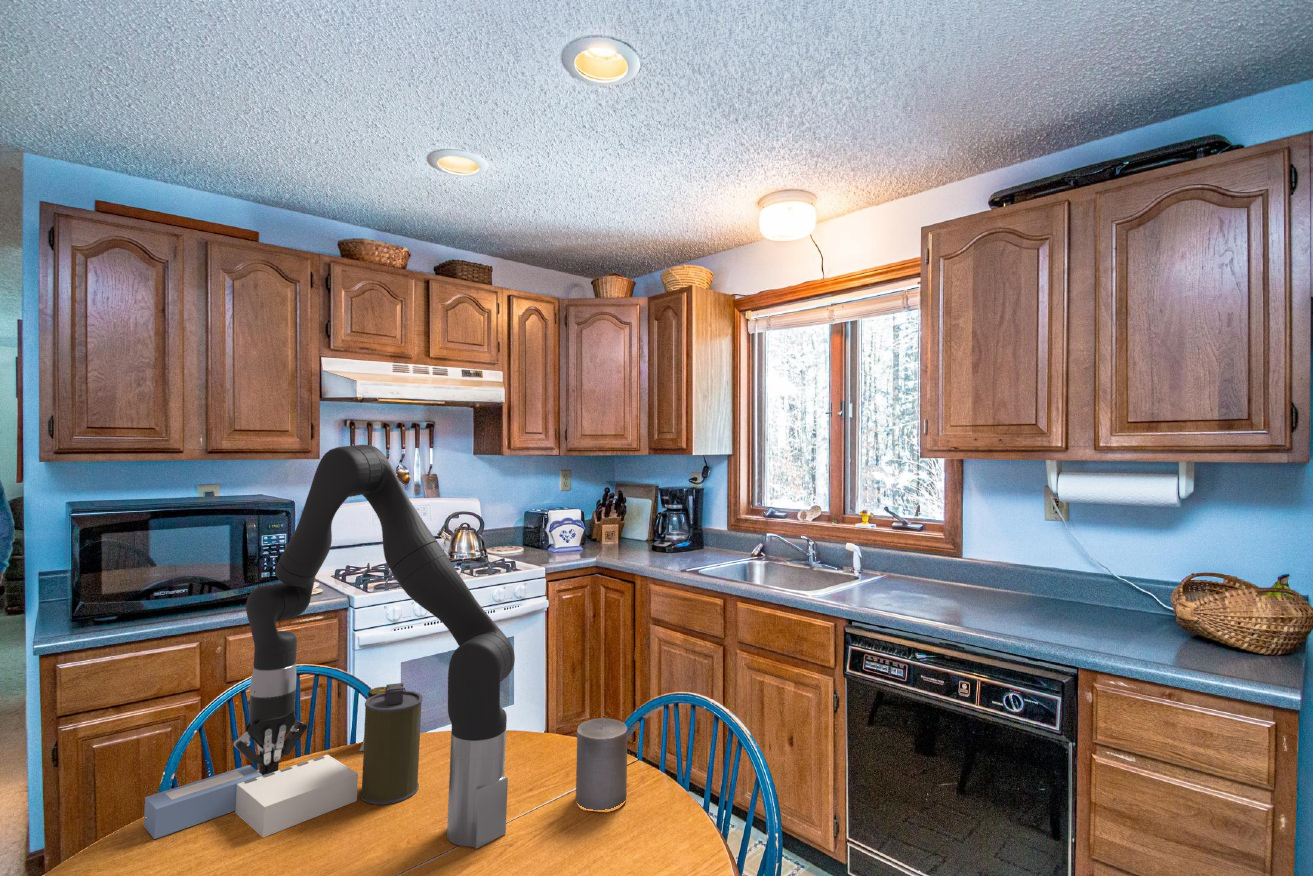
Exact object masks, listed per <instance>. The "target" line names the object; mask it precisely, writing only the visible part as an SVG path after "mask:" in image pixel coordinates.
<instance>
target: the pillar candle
mask: <svg viewBox="0 0 1313 876" xmlns="http://www.w3.org/2000/svg"><path fill="white" fill-rule="evenodd" d="M576 731H577V733H576V770H575V771H576V775H575V777H576V779H575V802H576V801H577V803H578V804H579V805H580V806H582V807H584V808H586V809H593V810H605V809H611V808H614V807H616V806H618V805H620V804H621V803H623V802H624V801H625V800H626V801H627V799H626V797H627V794H628V791H627V788H628V782H627V781H628V776H627V775H628V726H627V725H626V724H625V723H624V722H623V721H621V720H619V719H613V718H605V717H604V718H600V717H599V718H592V719H588V720H585V721H583V722H581V723H580V724H579V725H578V726H577V730H576Z"/></svg>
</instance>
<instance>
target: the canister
mask: <svg viewBox="0 0 1313 876" xmlns="http://www.w3.org/2000/svg"><path fill="white" fill-rule="evenodd" d="M385 687H386V692H384V693H380V694H377V695H374V696H372V697H370V698H369V699H368V698H367V699H366V700H365V701H364V707H366V714H365V713H364V714H365V715H364V728H365V734H364V733H363V734H364V735H363V739H364V751H363V756H362V757H363V759H362V776H361V777H362V779H361V781H362V782H361V791H360V793H359V794H360V799H361V800H362V801H363V802H364V803H365V802H366V803H367V804H371V805H377V806H379V805H380V806H381V805H393V804H396V803H400V802H403V801H405V800H407V799H409V798H410V797H413V796H414V795H415V794H416V793H417V792H418V790H419V789H420V788H419V767H420V765H419V764H420V763H419V761H420V741H421V739H420V738H421V722H422V721H421V720H422V719H421V718H422V702H423V698H424V697H423V695H422V694H421V693H419V692H416V691H412V690H406V688H405V687H404V683H403V682H399V683H398V682H397V683H390V684H386V686H385Z"/></svg>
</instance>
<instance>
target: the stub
mask: <svg viewBox="0 0 1313 876" xmlns="http://www.w3.org/2000/svg"><path fill="white" fill-rule="evenodd" d="M260 776H262V774H261V773H259V770H257V769H255V768H254V767H253V766H251V765H250V764H249V765H245V766H242V767H239V768H235V769H232V770H229V771H226V772H222V773H220V774H216V775H213V776H209V777H206V778H202V779H199V780H196V781H193V782H191V783H190V782H189V783H186V784H184V785H180V786H177V787H174V788H171V789H167V790H164V791H161V792H157V793H155V794H151V795H147V796H145V798H144V812H143V814H144V815H143V828H145V829H146V831H147V833H149V834H150V836H151V838H153V839H154V840H155V839H159V838H162V837H164V836H167V835H170V834H174V833H176V832H178V831H179V832H180V831H182V830H184V829H187V828H189V827H194V826H195V825H199V824H201V823H204V822H207V821H209V820H213V819H215V818H219V817H222V816H224V815H227V814H230V813H233V812H235V807H236V790H237V784H238V783H241V782H244V781H248V780H251V779H254V778H257V777H260ZM145 817H147V818H145Z"/></svg>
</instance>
